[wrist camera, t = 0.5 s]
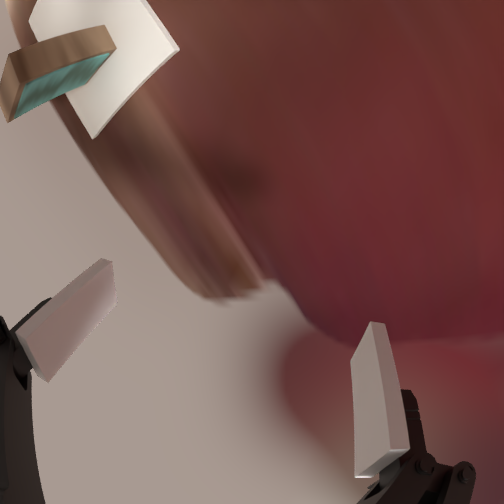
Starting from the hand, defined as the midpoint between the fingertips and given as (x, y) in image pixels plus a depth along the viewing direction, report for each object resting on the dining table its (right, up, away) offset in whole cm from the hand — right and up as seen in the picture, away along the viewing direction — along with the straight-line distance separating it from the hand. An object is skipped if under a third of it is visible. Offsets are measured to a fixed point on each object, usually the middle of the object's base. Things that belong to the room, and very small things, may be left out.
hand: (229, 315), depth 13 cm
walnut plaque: (-17, +26, +10) cm, 33 cm away
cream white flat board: (-20, +31, +8) cm, 38 cm away
